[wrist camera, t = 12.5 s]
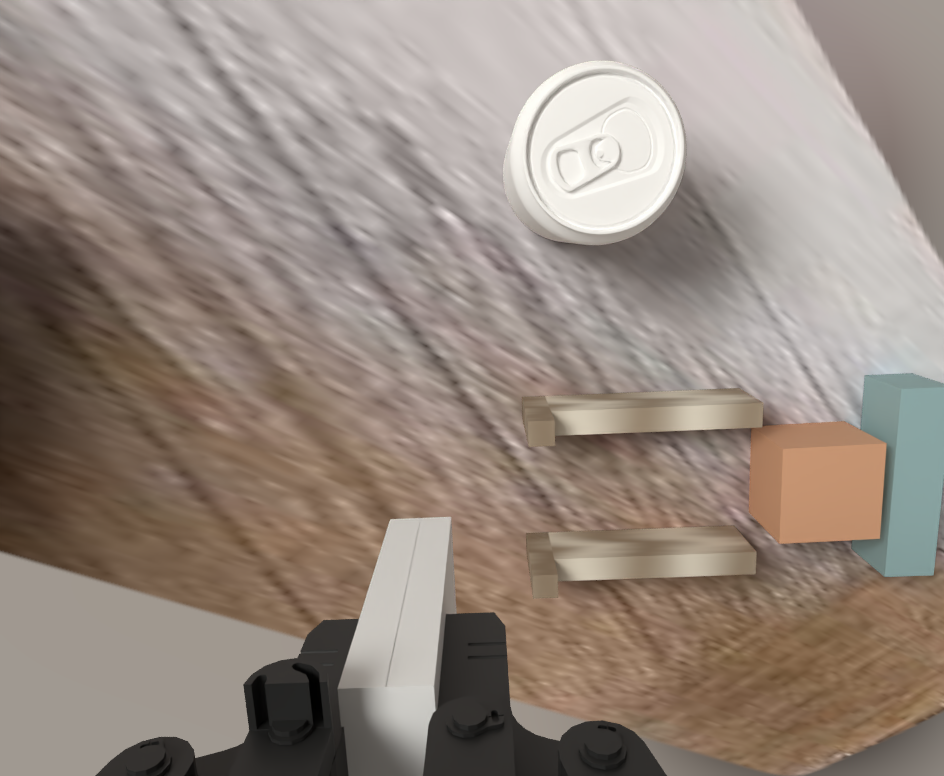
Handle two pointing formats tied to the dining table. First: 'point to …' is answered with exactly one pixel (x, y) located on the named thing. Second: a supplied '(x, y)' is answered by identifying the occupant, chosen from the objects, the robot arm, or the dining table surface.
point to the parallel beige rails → (636, 547)
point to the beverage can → (595, 154)
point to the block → (817, 482)
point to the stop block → (906, 471)
